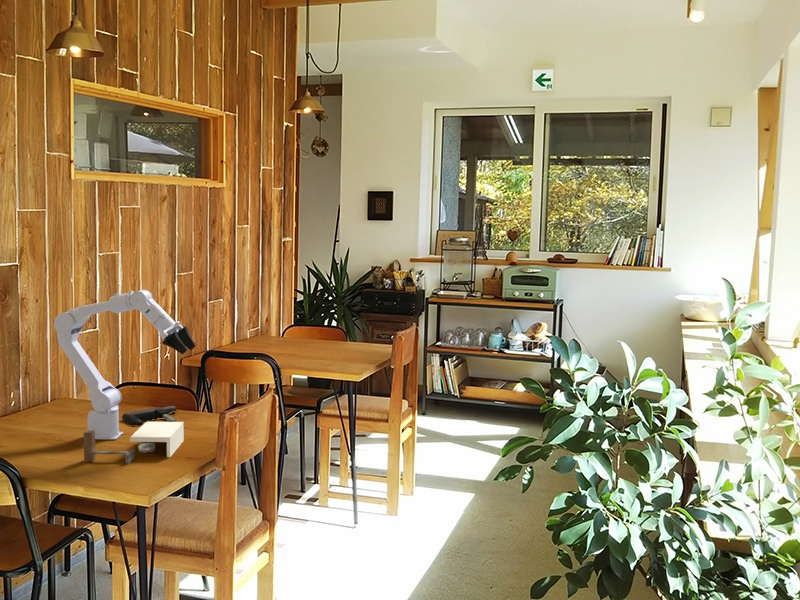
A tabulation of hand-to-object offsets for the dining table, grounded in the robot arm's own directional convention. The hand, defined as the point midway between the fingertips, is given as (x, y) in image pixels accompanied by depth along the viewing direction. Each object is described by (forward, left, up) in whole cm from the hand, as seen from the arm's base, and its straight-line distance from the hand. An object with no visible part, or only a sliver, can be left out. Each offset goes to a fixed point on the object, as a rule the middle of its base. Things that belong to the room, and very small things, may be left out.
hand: (189, 350), depth 271 cm
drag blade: (-19, -22, -30) cm, 42 cm away
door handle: (-18, +26, -31) cm, 44 cm away
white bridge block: (-8, -9, -30) cm, 32 cm away
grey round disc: (-11, -11, -30) cm, 34 cm away
